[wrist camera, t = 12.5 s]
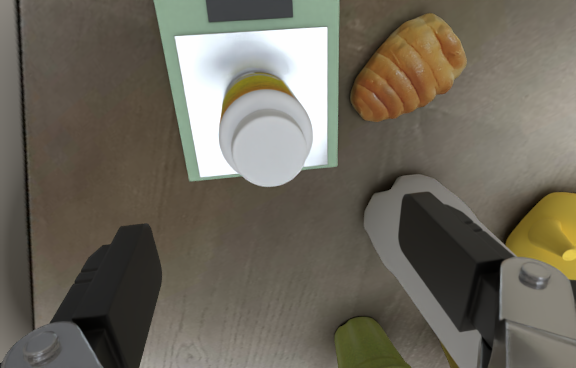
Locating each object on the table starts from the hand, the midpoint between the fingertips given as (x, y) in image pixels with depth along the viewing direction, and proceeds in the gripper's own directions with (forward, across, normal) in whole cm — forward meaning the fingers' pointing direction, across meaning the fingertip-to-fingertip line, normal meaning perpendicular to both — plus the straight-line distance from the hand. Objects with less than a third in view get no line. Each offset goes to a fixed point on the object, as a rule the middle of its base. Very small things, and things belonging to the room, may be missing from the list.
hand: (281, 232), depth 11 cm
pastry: (+21, -14, -1) cm, 25 cm away
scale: (+21, 0, -1) cm, 21 cm away
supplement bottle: (+18, 0, 0) cm, 18 cm away
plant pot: (+21, -10, +31) cm, 39 cm away
